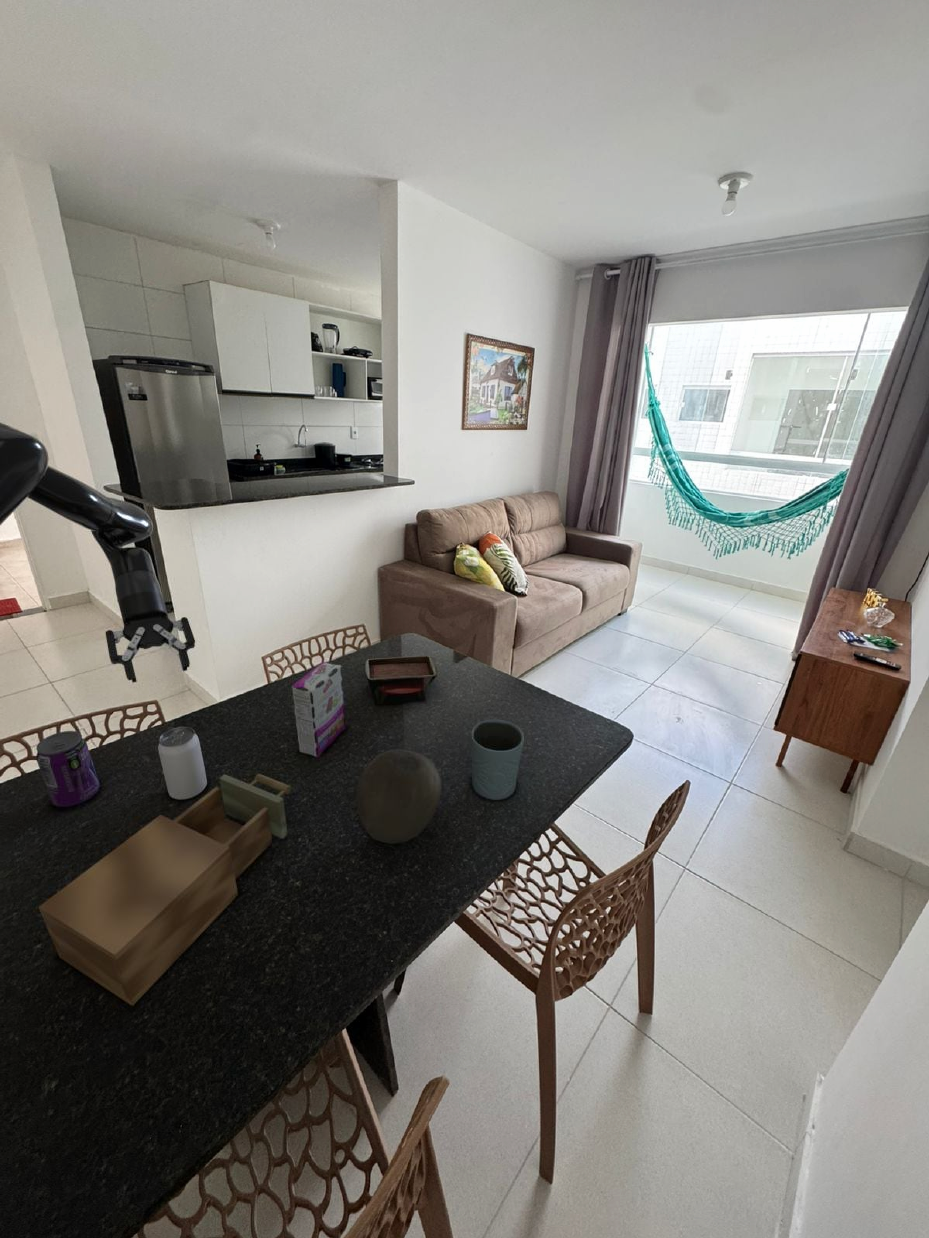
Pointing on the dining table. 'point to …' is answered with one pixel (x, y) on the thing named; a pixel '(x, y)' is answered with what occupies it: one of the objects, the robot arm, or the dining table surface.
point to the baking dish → (400, 678)
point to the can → (182, 763)
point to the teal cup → (495, 758)
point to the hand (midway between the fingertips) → (160, 675)
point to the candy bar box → (319, 708)
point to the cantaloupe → (398, 795)
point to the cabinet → (141, 906)
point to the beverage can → (67, 768)
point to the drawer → (240, 817)
